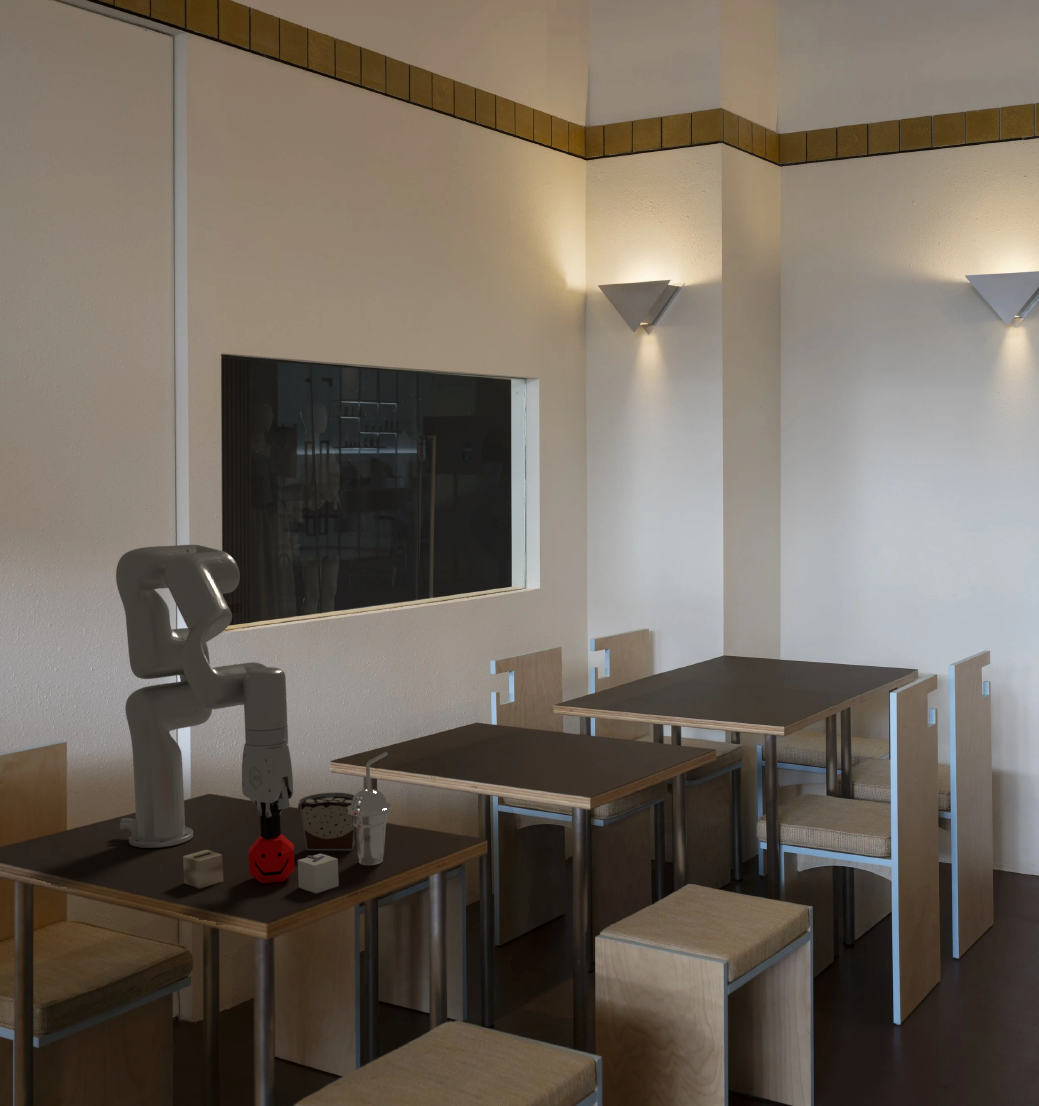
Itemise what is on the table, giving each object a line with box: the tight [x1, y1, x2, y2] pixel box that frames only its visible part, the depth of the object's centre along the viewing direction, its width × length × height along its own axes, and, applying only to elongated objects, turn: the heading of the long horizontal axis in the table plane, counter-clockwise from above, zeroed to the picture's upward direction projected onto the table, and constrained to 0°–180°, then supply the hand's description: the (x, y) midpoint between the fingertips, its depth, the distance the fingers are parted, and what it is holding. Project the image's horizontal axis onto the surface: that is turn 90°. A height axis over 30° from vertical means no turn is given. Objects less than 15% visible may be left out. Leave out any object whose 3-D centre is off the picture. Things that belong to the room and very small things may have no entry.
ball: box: [248, 834, 296, 884], centre depth 221 cm, size 8×8×8 cm
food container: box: [297, 792, 356, 851], centre depth 241 cm, size 12×6×10 cm, turn 84°
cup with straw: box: [347, 751, 393, 866], centre depth 229 cm, size 8×9×20 cm
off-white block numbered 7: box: [297, 853, 340, 894], centre depth 216 cm, size 5×5×5 cm
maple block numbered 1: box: [182, 849, 224, 889], centre depth 221 cm, size 5×5×5 cm
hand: (270, 836), depth 221 cm, fingers closed
